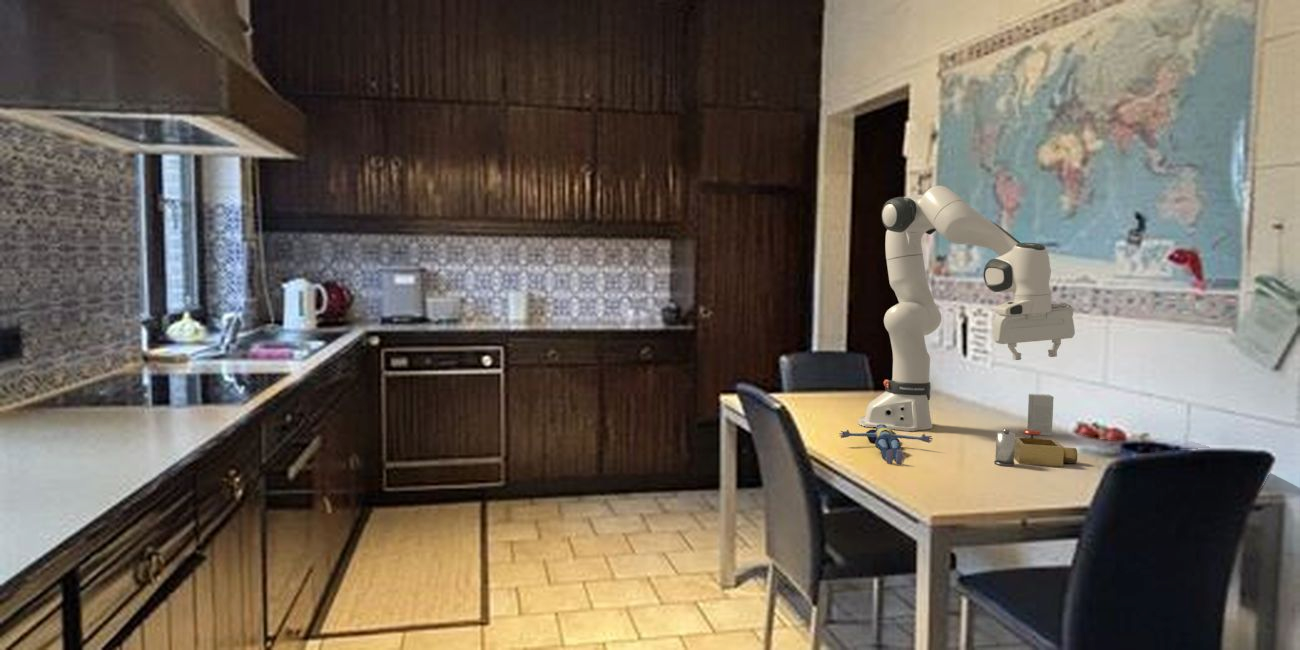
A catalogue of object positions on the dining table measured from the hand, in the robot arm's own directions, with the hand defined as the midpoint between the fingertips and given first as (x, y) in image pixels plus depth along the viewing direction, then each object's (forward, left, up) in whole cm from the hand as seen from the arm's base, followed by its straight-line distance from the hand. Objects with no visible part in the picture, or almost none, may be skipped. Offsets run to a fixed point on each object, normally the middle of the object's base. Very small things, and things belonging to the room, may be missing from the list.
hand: (1034, 358), depth 224 cm
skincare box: (+10, +38, -27) cm, 47 cm away
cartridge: (-7, -8, -27) cm, 29 cm away
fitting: (+4, +1, -27) cm, 27 cm away
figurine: (-36, -2, -27) cm, 46 cm away
